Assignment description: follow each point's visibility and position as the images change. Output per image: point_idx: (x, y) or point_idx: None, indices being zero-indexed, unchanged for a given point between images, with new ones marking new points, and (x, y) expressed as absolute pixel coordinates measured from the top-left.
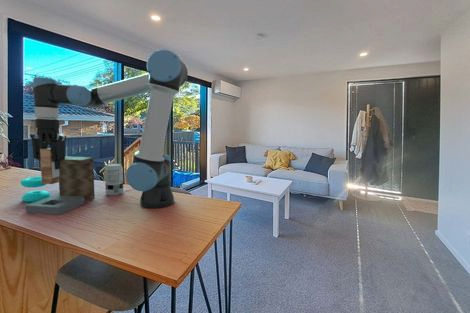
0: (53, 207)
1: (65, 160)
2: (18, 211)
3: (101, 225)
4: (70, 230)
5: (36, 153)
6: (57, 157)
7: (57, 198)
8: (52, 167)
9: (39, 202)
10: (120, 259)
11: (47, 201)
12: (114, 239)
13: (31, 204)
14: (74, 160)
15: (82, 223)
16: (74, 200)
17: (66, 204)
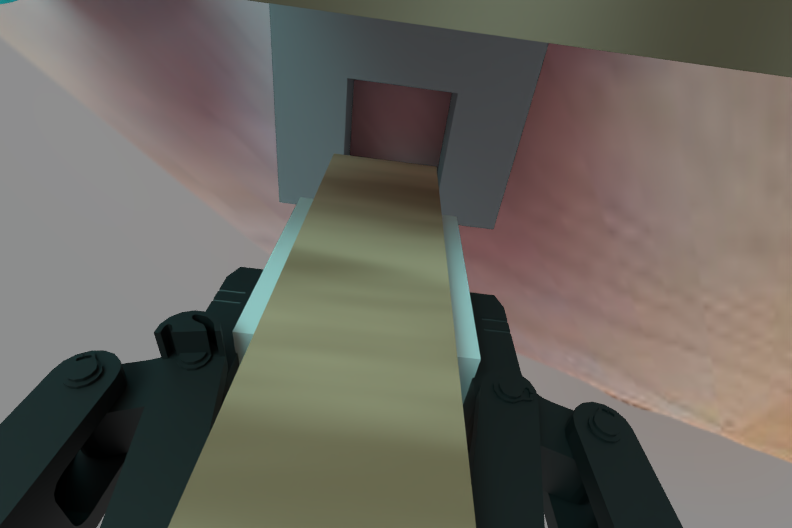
0: (458, 223)
1: (423, 19)
2: (235, 167)
3: (727, 308)
4: (610, 343)
5: (97, 516)
6: (486, 435)
7: (366, 41)
8: None
9: (313, 148)
10: (785, 459)
11: (345, 120)
12: (776, 392)
13: (299, 187)
14: (701, 64)
15: (639, 293)
16: (526, 87)
17: (508, 174)
